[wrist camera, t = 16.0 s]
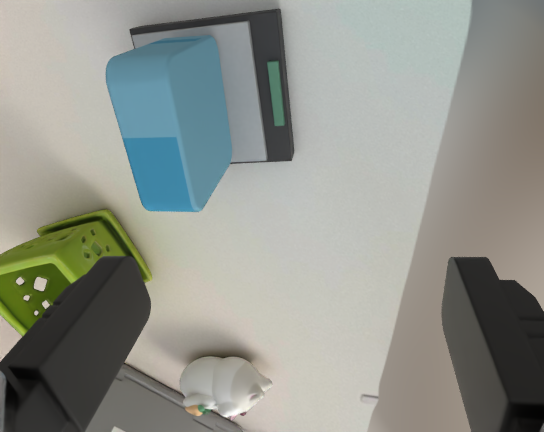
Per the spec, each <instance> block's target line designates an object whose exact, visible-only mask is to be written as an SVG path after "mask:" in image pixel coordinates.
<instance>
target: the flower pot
mask: <svg viewBox="0 0 544 432" xmlns="http://www.w3.org/2000/svg"><path fill="white" fill-rule="evenodd" d="M37 233H38V234H39V235H40V237H38V238H36V239H33V240H30V241H28V242H25V243H23V244H21V245H18V246H16V247H14V248H12V249H10V250H8V251H6V252H4V253H2V254H0V315H1V316H2V317H3V318H4V319H5V320H6V321H7V322H8V323H9V324H10V325H11V326H12V327H13V328H14V329H15V330H16V331H17V332H18V333H19V334H20V335H21V336H22V337H23V336H24V335H25V333H26V332H27V331H28V330H29V329H30V328H31V327H32V325H33V324H34V323H35V322H36V321H37V320H38V319H39V318H42V314H43V313H44V312H45V311H46V310H47V309H45V308H44V307H43V305H42V302H44V301H45V300H47V302H48V303H49V304H50V305H53V302H54V301H55V299H56V298H57V297H58V296H59V295H60V294H61V293H62V291H63V290H64V289H65V288H66V287H67V286H69V285H70V284H72V283H73V282H74V281H76V280H77V279H79V278H80V277H81V276H83V275H84V274H87V272H88V271H89V270H90V269H91V268H92V267H93V265H94V264H95V263H96V262H97V261H98V260H99V259H100V258H101V257H103V256H131V257H133V258H134V259H135V261H136V263H137V265H138V268H139V270H140V273H141V276H142V278H143V281H144V282H148V281H150V280H152V275H151V272H150V270H149V268H148V267H147V265H146V264H145V262H144V260H143V259H142V257H141V256H140V254H139V252H138V251H137V249H136V248H135V246H134V245H133V243H132V242H131V240H130V239H129V237H128V236H127V234H126V233H125V231H124V230H123V228H122V227H121V225H120V224H119V222H118V221H117V219H116V218H115V217H114V215H113V214H112V212H111V211H109V210H107V209H104V210H100V211H96V212H92V213H88V214H84V215H80V216H76V217H73V218H69V219H66V220H63V221H59V222H56V223H52V224H49V225H46V226H43V227H41V228H39V229H38V230H37ZM19 277H21V278H22V279H23V280H24V283H23V284H21V285H18V284H17V283H16V280H17V279H18V278H19ZM37 277H41V278H44V279H47V284H46V287H45V289H44V291H39V290H36V289H34V282H35V279H36V278H37ZM25 295H29V296H30V298H29V300H28V301H26V300H24V299H23V297H24V296H25ZM36 310H37V311H38V312H39V313H38V315H37V316H36V315H34V312H35V311H36Z"/></svg>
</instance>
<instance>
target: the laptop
mask: <svg viewBox="0 0 544 432" xmlns="http://www.w3.org/2000/svg"><path fill="white" fill-rule="evenodd" d="M185 398H186V397H185V396H183V395H181V394H179V393H177V392H175V391H174V390H172V389H170V388H168V387H166V386H164V385H163V384H161V383H159V382H157V381H155V380H153V379H151V378H150V377H148V376H146V375H144V374H142V373H140V372H139V371H137V370H135V369H133V368H131V367H129V366H128V365H126V364H124V363H123V365H122V367H121V369H120V370H119V372H118V374H117V376H116V377H115V379H114V381H113V383H112V385H111V386H110V388H109V390H108V392H107V393H106V395H105V397H104V399H103V400H102V402H101V404H100V406H99V408H98V409H97V411H96V413H95V415H94V416H93V418H92V420H91V422H90V424H89V425H88V427H87V429H86V431H85V432H243V431H242V430H241V429H240V428H239V427H238V426H237V425H236V424H234V423H232V422H231V421H229V420H227V419H225V418H223V417H221V416H220V415H218V414H216V413H214V412H212V411H210V414H209V413H207V412H206V413H207V414H208V415H207V414H204V415H203V414H201V415H200V416H195V415H193V414H191V413H189V412H187V411H186V410H185V407H186V406H185V405H184V404H183V401H184V399H185Z"/></svg>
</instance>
